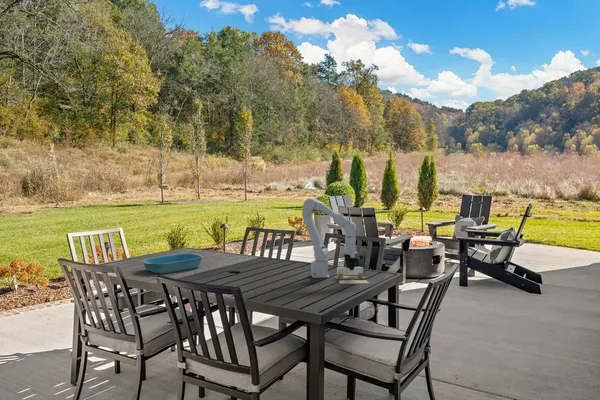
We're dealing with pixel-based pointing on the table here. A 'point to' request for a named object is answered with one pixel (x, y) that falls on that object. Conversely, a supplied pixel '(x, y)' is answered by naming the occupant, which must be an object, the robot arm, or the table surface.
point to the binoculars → (360, 262)
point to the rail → (349, 271)
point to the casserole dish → (172, 263)
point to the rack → (350, 277)
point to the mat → (354, 282)
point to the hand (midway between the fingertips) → (350, 268)
